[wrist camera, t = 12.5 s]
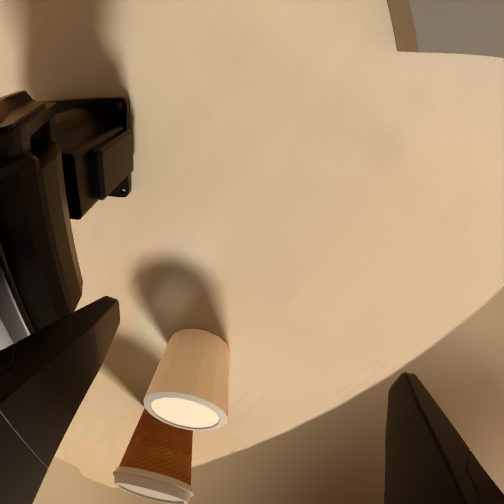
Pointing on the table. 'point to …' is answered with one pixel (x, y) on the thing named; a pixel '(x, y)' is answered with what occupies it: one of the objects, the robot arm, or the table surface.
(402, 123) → the table surface
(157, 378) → the tan cylindrical piece
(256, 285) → the table surface
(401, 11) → the plate
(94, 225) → the table surface
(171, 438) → the disposable coffee cup
